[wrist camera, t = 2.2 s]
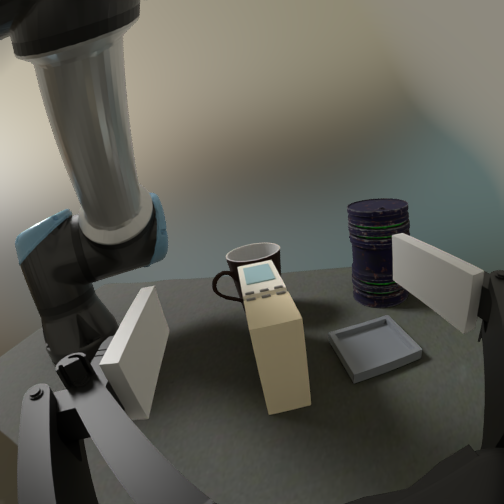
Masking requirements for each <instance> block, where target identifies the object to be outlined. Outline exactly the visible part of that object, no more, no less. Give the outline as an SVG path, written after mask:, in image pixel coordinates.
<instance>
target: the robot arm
mask: <svg viewBox="0 0 504 504" xmlns="http://www.w3.org/2000/svg"><path fill="white" fill-rule="evenodd" d="M139 13H140V0H0V40H2V39H4V38H6V37H9V36H10V37H11V41H12V45H13V49H14V54H15V56H16V58H18V59H21V60H25V61H28V62H31V63H32V64H34V68H35V71H36V76H37V80H38V84H39V88H40V92H41V95H42V99H43V102H44V106H45V109H46V113H47V116H48V119H49V122H50V125H51V128H52V131H53V134H54V137H55V140H56V143H57V146H58V149H59V151H60V154H61V157H62V159H63V162H64V165H65V168H66V170H67V173H68V175H69V177H70V180H71V183H72V185H73V187H74V190H75V192H76V195H77V197H78V199H79V201H80V204H81V206H80V210H79V214H77V215H74V216H72V212H71V211H70V210H69V209H65V210H63V211H61V212H59V213H57V214H55V215H53V216H51V217H49V218H47V219H45V220H43V221H41V222H39V223H37V224H36V225H34V226H32V227H30V228H29V229H27V230H25V231H23V232H22V233H20V234H19V235H18V236H17V238H16V241H15V247H16V251H17V255H18V259H19V265H20V266H21V269H22V272H23V275H24V277H25V280H26V283H27V285H28V288H29V290H30V293H31V296H32V298H33V300H34V303H35V305H36V307H37V310H38V312H39V314H40V317H41V321H42V328H43V334H44V338H45V342H46V343H45V345H46V349H47V352H48V354H49V355H50V357H51V359H52V361H53V362H54V363H56V364H57V365H56V372H57V374H58V375H59V377H60V379H61V381H62V382H63V384H64V386H65V387H66V390H62V391H58V392H54V393H53V392H52V390H51V389H50V387H49V386H48V385H47V384H37V385H35V386H32V387H31V388H29V389H28V391H27V392H26V393H25V395H24V397H23V403H22V410H21V419H20V429H19V442H18V468H17V469H18V470H17V472H18V473H17V477H18V478H17V480H18V481H17V482H18V504H98V500H97V497H96V493H95V490H94V486H93V482H92V478H91V474H90V469H89V465H88V460H87V455H86V450H85V445H84V439H85V438H89V437H91V438H92V439H93V441H94V443H95V444H96V446H97V448H98V449H99V451H100V453H101V454H102V456H103V458H104V459H105V461H106V462H107V464H108V465H109V467H110V468H111V470H112V471H113V473H114V474H115V476H116V477H117V479H118V480H119V481H120V483H121V484H122V486H123V487H124V488H125V490H126V491H127V493H128V494H129V495H130V496H131V498H132V499H133V500H134V502H135V503H136V504H217V503H215V502H214V501H212V500H211V499H210V498H209V497H207V496H206V495H205V494H204V493H203V492H202V491H200V490H199V489H198V488H197V487H196V486H195V485H194V484H192V483H191V482H190V481H189V480H188V479H187V478H186V477H185V476H184V475H183V474H182V473H181V472H180V471H178V470H177V469H176V468H175V467H174V466H173V465H172V464H171V463H170V462H169V461H168V460H167V459H166V458H165V457H164V456H163V455H162V454H161V453H160V451H159V450H158V449H157V448H156V447H155V446H154V445H153V444H152V443H151V442H150V441H149V440H148V439H147V437H146V436H145V435H144V434H143V433H142V432H141V431H140V430H139V428H138V427H137V426H136V425H135V424H134V423H133V421H132V420H138V419H149V415H150V410H151V406H152V401H153V397H154V392H155V388H156V384H157V379H158V375H159V371H160V367H161V363H162V359H163V355H164V351H165V347H166V343H167V339H168V335H169V328H168V325H167V322H166V319H165V316H164V313H163V310H162V307H161V304H160V301H159V298H158V295H157V292H156V289H155V286H151V287H146V288H141V289H140V291H139V293H138V295H137V296H136V298H135V300H134V301H133V303H132V305H131V307H130V308H129V310H128V312H127V314H126V316H125V317H124V319H123V321H122V323H121V324H120V326H119V327H118V324H117V322H116V319H115V318H114V316H113V315H112V314H111V313H110V312H109V310H108V309H107V308H106V306H105V305H104V304H103V303H102V301H101V300H100V299H99V298H98V296H97V295H96V293H95V290H94V287H93V285H92V283H93V282H96V281H98V280H102V279H105V278H108V277H111V276H114V275H118V274H121V273H124V272H128V271H131V270H134V269H137V268H141V267H148V266H150V265H151V264H153V263H156V262H158V261H161V260H163V259H164V258H165V256H166V254H167V250H168V237H167V232H166V221H165V216H164V212H163V208H162V205H161V202H160V199H159V197H158V196H157V195H156V194H155V193H149V192H148V191H147V190H146V188H145V187H144V186H142V185H141V184H139V183H138V177H137V171H136V165H135V159H134V152H133V145H132V138H131V130H130V122H129V114H128V104H127V94H126V82H125V69H124V52H123V35H124V34H125V33H126V32H127V30H129V29H130V28H131V26H133V25H134V23H136V22H137V21H138V19H139ZM392 253H393V280H394V281H395V282H396V283H398V284H399V285H400V286H402V287H403V288H404V289H406V290H407V291H409V292H410V293H411V294H413V295H414V296H415V297H417V298H418V299H419V300H421V301H422V302H423V303H425V304H426V305H427V306H429V307H430V308H431V309H432V310H434V311H435V312H436V313H438V314H439V315H440V316H442V317H443V318H444V319H445V320H447V321H448V322H449V323H450V324H452V325H453V326H454V327H456V328H457V329H458V330H459V331H461V332H462V333H463V334H465V333H467V332H469V331H471V330H473V329H475V326H476V321H477V316H479V317H480V318H481V319H483V320H482V325H481V330H480V334H479V338H478V342H480V339H481V338H482V341H483V354H484V374H485V409H484V428H483V440H482V446H481V450H477V451H474V450H473V449H472V447H471V446H470V445H467V446H465V447H464V448H462V449H461V450H459V451H458V452H456V453H454V454H453V455H451V456H449V457H448V458H446V459H444V460H442V461H441V462H439V463H438V464H437V465H436V466H435V467H434V468H433V469H431V470H430V471H429V472H428V473H427V474H426V475H424V476H423V477H422V478H421V479H420V480H418V481H417V482H416V483H415V484H413V485H412V486H411V487H409V488H407V489H403V490H399V491H394V492H390V493H384V494H379V495H373V496H367V497H363V498H360V499H357V500H354V501H351V502H348V503H345V504H504V271H503V270H499V271H498V270H497V271H493V272H491V273H490V274H489V273H487V272H485V271H483V270H482V269H479V268H478V267H476V266H474V265H472V264H469V263H467V262H465V261H463V260H461V259H459V258H457V257H455V256H453V255H451V254H449V253H447V252H444V251H442V250H440V249H438V248H436V247H433V246H431V245H429V244H427V243H425V242H422V241H420V240H418V239H415V238H413V237H411V236H409V235H406V234H404V233H400V234H395V235H392ZM92 359H93V360H92ZM89 360H92V362H91V363H90V361H89ZM124 410H125V411H126V413H127V414H126V413H125V412H124ZM128 416H129V417H128Z"/></svg>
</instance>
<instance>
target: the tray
mask: <svg viewBox="0 0 504 504" xmlns="http://www.w3.org/2000/svg"><path fill="white" fill-rule="evenodd" d="M328 336H329V342H330V344H331V346H332V347H333V349H334V351H335V352H336V354H337V356H338V357H339V359H340V361H341V362H342V364H343V366H344V367H345V369H346V371H347V373H348V374H349V376H350V378H351V379H352V381H353V383H357V382H360V381H363V380H366V379H369V378H372V377H375V376H377V375H380V374H383V373H386V372H388V371H391V370H393V369H396V368H399V367H401V366H404V365H406V364H408V363H411V362H413V361H416V360H418V359H420V358H421V355H422V348H421V347H420V346H419V345H418V344H417V343H416V342H415V341H414V340H413V339H412V338H411V337H410V336H409V335H408V334H407V333H406V332H405V331H404V330H403V329H402V328H401V327H400V326H399V325H398V324H397V323H396V322H395V321H394V320H393V319H392V318H391V317H390V316H389V315H386V316H383V317H380V318H376V319H373V320H370V321H367V322H363V323H360V324H357V325H353V326H350V327H346V328H343V329H339V330H336V331H332V332H328Z"/></svg>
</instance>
